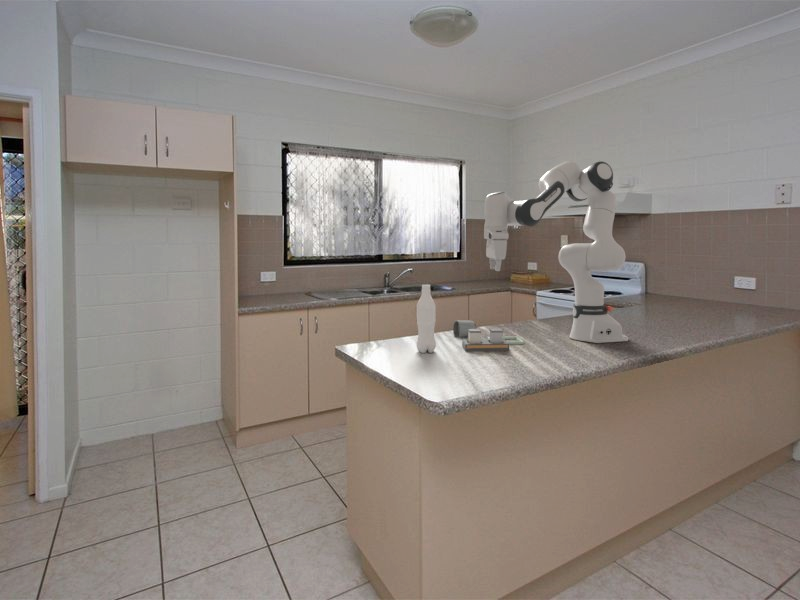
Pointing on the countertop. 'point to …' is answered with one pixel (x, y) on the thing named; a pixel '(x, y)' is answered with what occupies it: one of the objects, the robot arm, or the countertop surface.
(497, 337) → the twin plug
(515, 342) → the tray
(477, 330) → the plug
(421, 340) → the water bottle
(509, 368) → the countertop surface
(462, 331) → the ceramic mug
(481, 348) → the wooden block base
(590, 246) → the robot arm
